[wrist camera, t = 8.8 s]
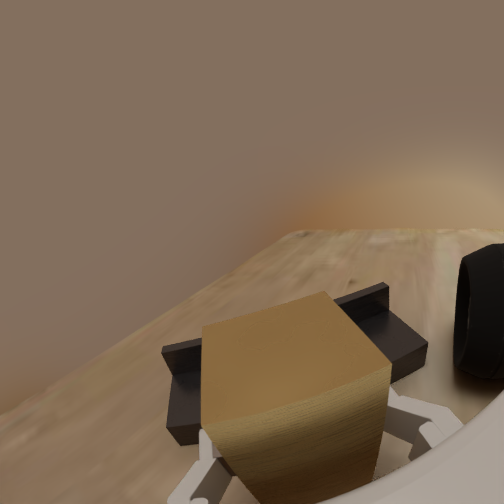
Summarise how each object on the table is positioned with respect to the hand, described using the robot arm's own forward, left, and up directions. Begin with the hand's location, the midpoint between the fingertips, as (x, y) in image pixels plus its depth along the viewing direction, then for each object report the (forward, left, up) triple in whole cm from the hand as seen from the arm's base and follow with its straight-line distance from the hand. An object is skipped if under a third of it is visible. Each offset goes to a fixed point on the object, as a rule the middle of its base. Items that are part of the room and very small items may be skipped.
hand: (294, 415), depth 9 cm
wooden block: (0, -1, -5) cm, 6 cm away
